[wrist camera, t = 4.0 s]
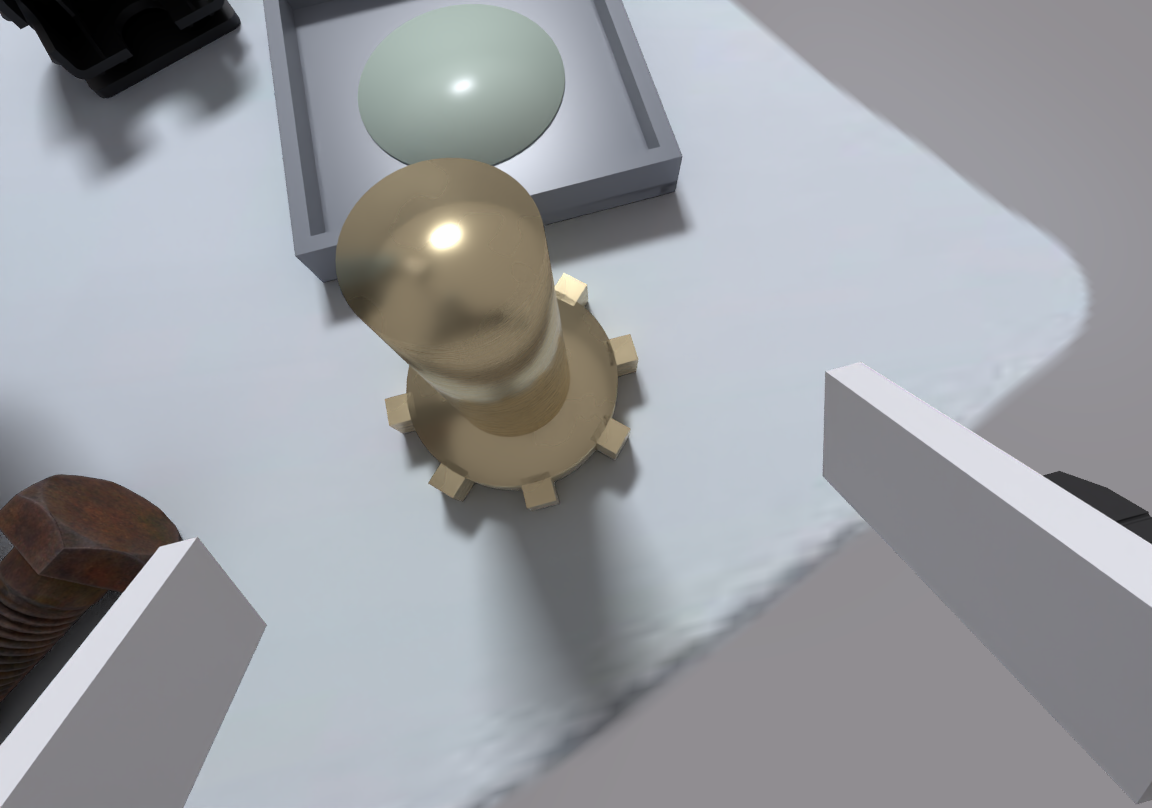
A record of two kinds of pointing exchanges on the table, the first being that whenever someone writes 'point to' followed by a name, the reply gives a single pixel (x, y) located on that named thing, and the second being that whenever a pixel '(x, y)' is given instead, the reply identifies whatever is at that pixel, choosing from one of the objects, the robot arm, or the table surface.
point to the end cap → (121, 34)
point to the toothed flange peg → (482, 329)
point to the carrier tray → (462, 104)
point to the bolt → (67, 560)
